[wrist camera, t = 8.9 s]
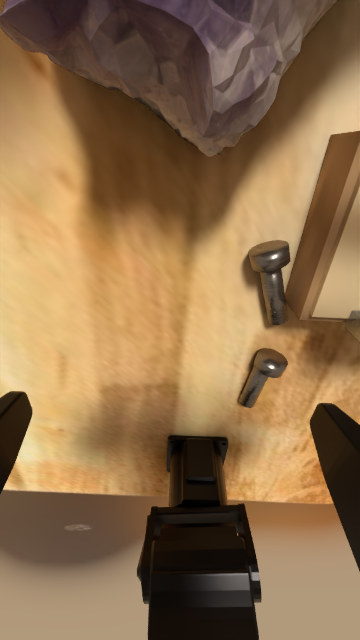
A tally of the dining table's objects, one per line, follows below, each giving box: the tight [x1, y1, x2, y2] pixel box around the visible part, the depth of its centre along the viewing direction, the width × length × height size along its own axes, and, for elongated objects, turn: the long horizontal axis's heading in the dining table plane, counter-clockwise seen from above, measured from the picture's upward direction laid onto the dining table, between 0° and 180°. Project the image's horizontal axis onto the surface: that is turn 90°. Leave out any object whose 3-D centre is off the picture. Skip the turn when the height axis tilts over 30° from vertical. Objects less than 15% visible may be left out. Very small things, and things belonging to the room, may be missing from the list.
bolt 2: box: [240, 348, 288, 408], centre depth 23 cm, size 6×2×2 cm, turn 170°
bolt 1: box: [248, 240, 290, 325], centre depth 18 cm, size 6×2×2 cm, turn 18°
